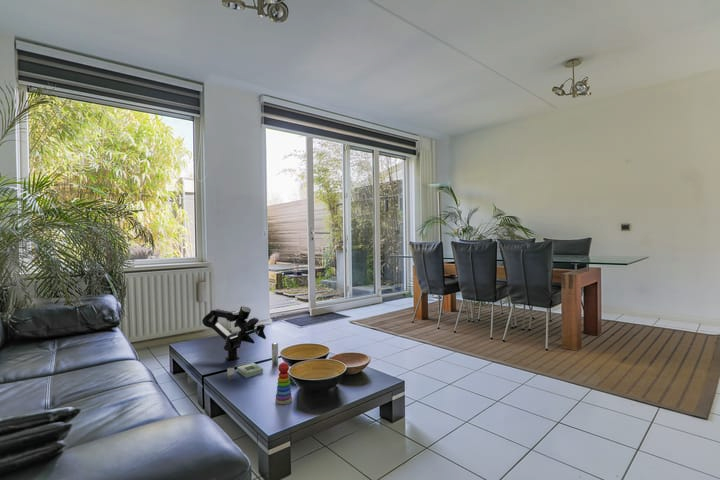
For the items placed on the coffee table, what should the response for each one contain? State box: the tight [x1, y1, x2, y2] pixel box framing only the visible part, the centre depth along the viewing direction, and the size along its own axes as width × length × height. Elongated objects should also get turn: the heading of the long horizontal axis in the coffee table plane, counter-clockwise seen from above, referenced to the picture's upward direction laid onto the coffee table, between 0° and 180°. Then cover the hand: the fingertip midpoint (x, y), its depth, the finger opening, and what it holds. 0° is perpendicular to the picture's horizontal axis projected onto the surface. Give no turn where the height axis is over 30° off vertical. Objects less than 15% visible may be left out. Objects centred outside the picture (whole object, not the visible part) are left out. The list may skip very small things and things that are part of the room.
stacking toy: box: [274, 361, 293, 406], centre depth 175 cm, size 8×8×19 cm
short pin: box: [226, 366, 235, 381], centre depth 201 cm, size 4×4×6 cm
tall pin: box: [271, 342, 279, 367], centre depth 221 cm, size 4×4×13 cm
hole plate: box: [236, 362, 264, 379], centre depth 211 cm, size 12×10×2 cm
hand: (260, 340), depth 219 cm, fingers open, 9 cm apart
